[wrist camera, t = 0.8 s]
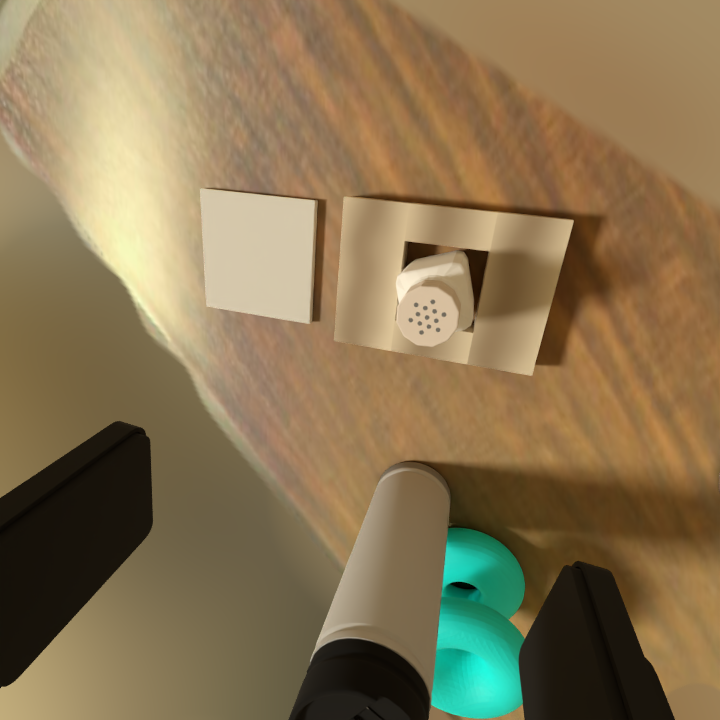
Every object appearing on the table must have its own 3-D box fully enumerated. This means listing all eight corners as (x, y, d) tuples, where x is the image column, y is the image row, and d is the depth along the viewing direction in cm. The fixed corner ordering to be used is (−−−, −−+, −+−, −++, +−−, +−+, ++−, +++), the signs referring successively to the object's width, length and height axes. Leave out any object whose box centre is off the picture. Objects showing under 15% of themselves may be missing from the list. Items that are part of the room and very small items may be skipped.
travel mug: (362, 493, 38) (253, 746, 19) (408, 446, 35) (333, 686, 17) (416, 538, 38) (358, 835, 19) (466, 494, 35) (455, 789, 17)
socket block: (567, 218, 26) (573, 220, 25) (528, 365, 30) (531, 375, 28) (352, 196, 29) (343, 196, 27) (341, 332, 33) (334, 340, 31)
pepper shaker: (466, 247, 28) (461, 269, 20) (475, 304, 30) (474, 348, 21) (408, 259, 30) (380, 285, 21) (419, 314, 31) (396, 359, 22)
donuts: (434, 735, 32) (362, 642, 30) (444, 616, 41) (388, 539, 39) (565, 720, 28) (489, 611, 26) (544, 591, 37) (486, 505, 35)
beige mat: (317, 200, 30) (314, 200, 29) (312, 321, 33) (309, 323, 33) (204, 188, 32) (199, 188, 31) (210, 304, 35) (206, 306, 35)
